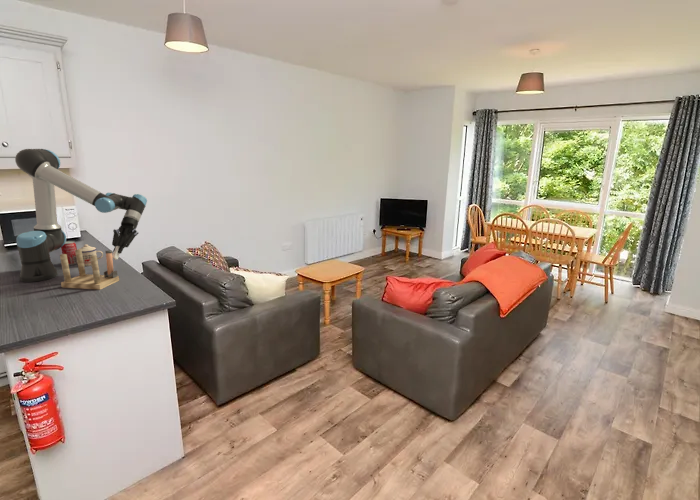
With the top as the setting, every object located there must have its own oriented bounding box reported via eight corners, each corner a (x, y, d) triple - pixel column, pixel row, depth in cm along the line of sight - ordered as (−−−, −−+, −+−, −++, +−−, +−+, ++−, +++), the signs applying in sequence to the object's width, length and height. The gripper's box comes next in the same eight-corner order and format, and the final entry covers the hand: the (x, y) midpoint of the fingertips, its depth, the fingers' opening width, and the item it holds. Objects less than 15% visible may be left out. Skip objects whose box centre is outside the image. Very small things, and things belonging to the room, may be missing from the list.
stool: (61, 287, 180) (55, 255, 176) (82, 278, 192) (77, 248, 188) (100, 289, 178) (95, 257, 174) (119, 280, 190) (114, 250, 186)
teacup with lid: (79, 267, 210) (75, 247, 207) (79, 263, 217) (76, 244, 214) (104, 264, 217) (101, 244, 214) (104, 260, 224) (101, 241, 221)
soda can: (82, 262, 219) (78, 241, 216) (72, 265, 212) (68, 243, 209) (71, 261, 220) (67, 240, 217) (61, 265, 213) (56, 243, 210)
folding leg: (106, 277, 187) (104, 251, 184) (110, 275, 189) (108, 250, 187) (111, 277, 186) (109, 251, 184) (115, 275, 189) (113, 250, 187)
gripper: (146, 224, 203) (130, 262, 191) (123, 223, 204) (107, 261, 192) (138, 216, 197) (122, 255, 185) (115, 215, 198) (97, 254, 186)
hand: (114, 258), depth 189 cm, fingers closed
